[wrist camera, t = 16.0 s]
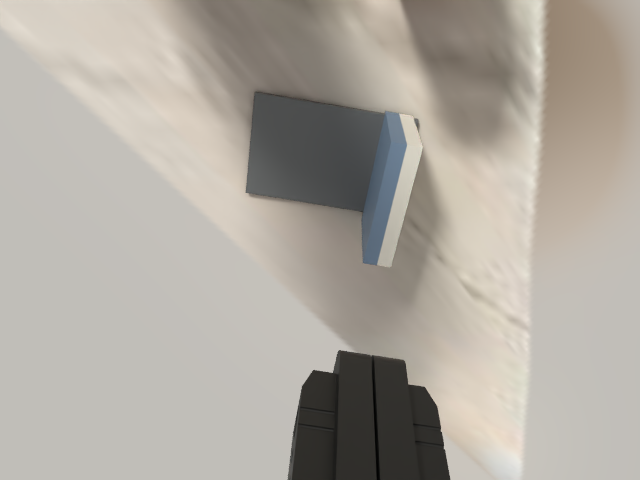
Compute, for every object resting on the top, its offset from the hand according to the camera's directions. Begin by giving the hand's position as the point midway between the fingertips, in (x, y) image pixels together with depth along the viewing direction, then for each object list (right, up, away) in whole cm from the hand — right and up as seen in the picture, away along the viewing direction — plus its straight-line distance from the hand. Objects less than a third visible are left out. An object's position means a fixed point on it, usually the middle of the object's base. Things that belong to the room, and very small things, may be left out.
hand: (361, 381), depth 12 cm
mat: (0, +10, +28) cm, 30 cm away
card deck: (+3, +3, +27) cm, 28 cm away
